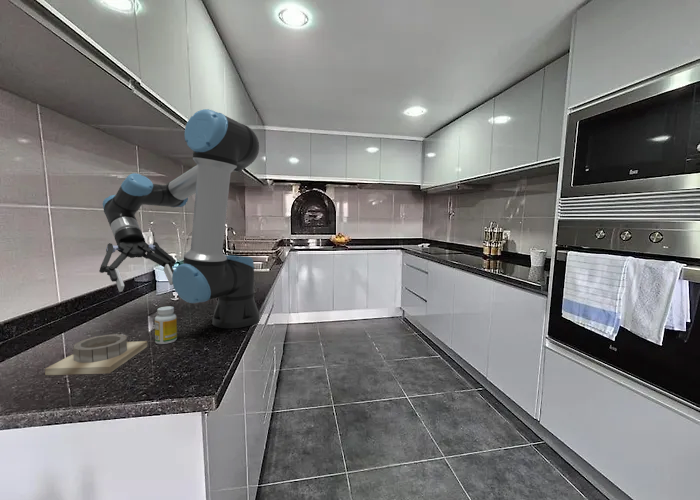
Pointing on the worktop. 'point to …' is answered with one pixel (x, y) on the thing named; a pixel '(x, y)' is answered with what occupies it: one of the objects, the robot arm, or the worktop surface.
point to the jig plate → (95, 366)
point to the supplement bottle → (165, 325)
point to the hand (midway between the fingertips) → (148, 285)
